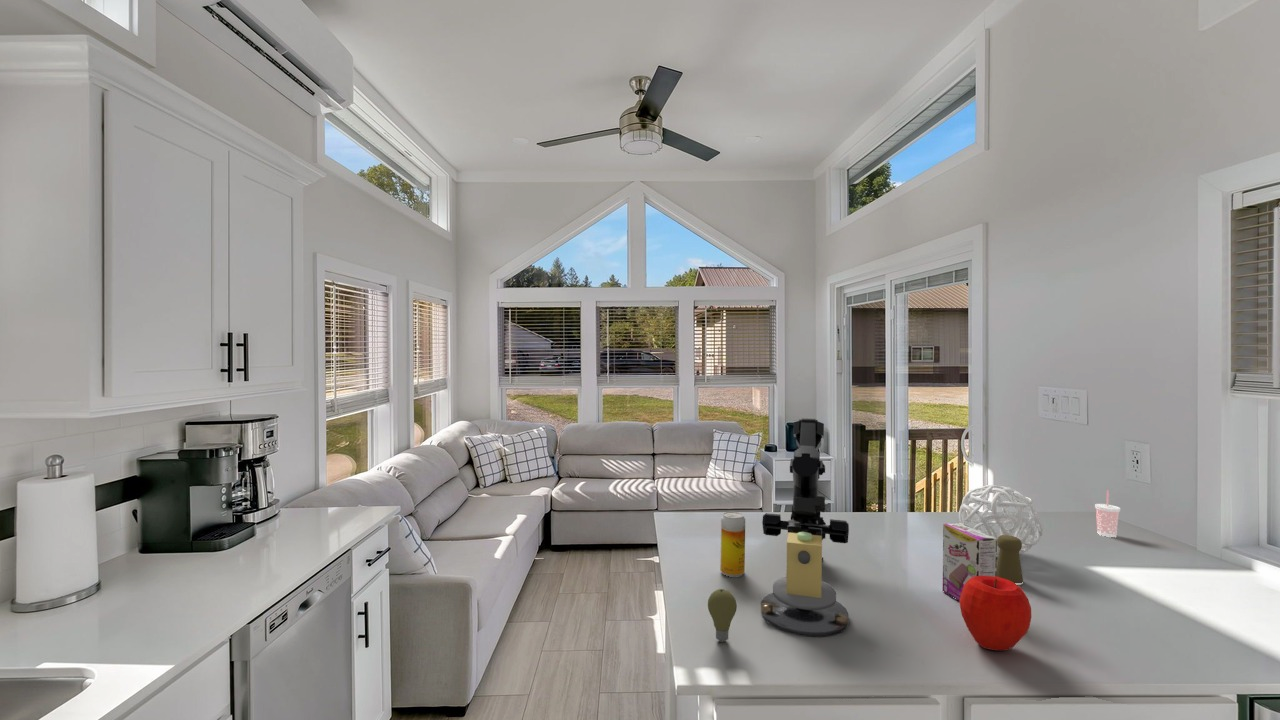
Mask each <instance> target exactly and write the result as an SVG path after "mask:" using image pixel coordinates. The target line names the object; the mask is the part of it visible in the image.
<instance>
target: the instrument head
mask: <svg viewBox="0 0 1280 720" xmlns="http://www.w3.org/2000/svg"><path fill="white" fill-rule="evenodd" d="M822 557H823V540H822V536H818V535H812V534H811V533H808V532H799V533H789V532H788V531H787V539H786V576H785V577H781V578H779V579H777V580H775V581H774V582H773V585H772V593H773V595H774V596H775V598H776V599H777V600H779V601H780V602H782V603H784V604H786V605H788V606H791V607H794V608H798V609H804V610H821V609H826V608H829V607H831V606H833V605H834V604H835V602H836V601H837V591H836V589H835V588H834V587H833V586H832V585H830V584H829V583H827V582H825V581H823V580H822V575H823V574H822V573H823V572H822V571H823V570H822V569H823V563H822V562H823V560H822Z"/></svg>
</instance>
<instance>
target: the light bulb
mask: <svg viewBox="0 0 1280 720" xmlns="http://www.w3.org/2000/svg"><path fill="white" fill-rule="evenodd" d="M737 607H738V606H737V599H736V597H735V596H734V595H733V593H732V592H730V591H729V590H727V589H724V588H719V589H716V590H714V591H713V592H712V593H711V594H710V595H709V597H708V599H707V609H708V613H709V614H710V617H711V619H712V622H713V626H714V628H715V639H716V640H718V641H719V642H720V643H725V642H726V641H728V640H729V630H730V628H731V623H732V621H733V619H734V617H735V615H736V612H737Z"/></svg>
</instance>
